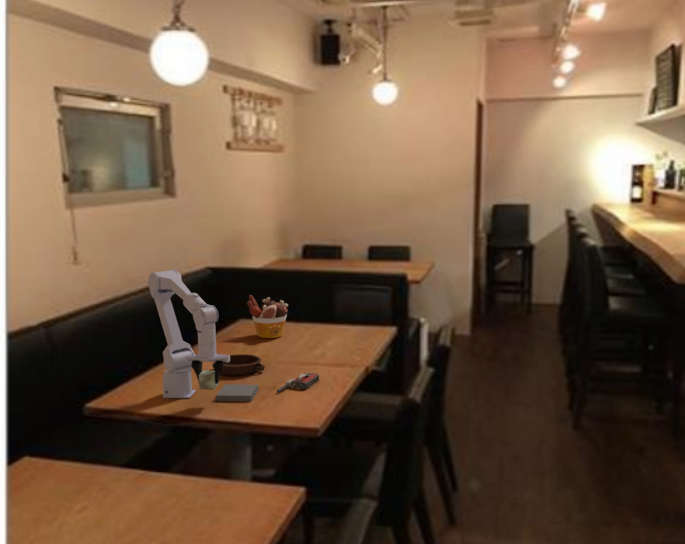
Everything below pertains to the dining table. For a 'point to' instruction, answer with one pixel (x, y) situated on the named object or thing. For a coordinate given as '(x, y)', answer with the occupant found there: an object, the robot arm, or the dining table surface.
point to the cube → (207, 380)
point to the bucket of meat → (268, 317)
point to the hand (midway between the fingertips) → (208, 382)
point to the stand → (237, 393)
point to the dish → (241, 365)
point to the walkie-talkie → (301, 381)
